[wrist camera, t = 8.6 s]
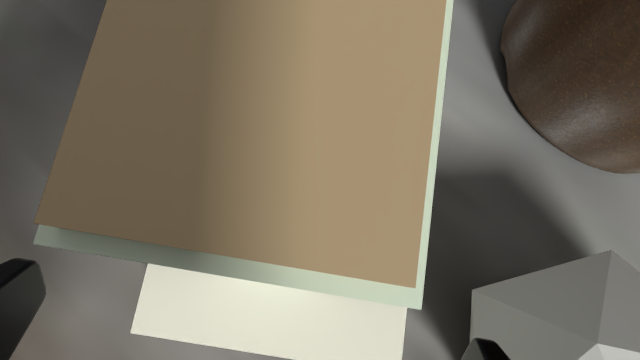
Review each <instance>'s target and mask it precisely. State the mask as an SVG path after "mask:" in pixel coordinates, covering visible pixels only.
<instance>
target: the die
mask: <svg viewBox="0 0 640 360" xmlns="http://www.w3.org/2000/svg"><path fill="white" fill-rule="evenodd" d="M474 338H483V339H489V340H493V341H495V342H496V343H497V344H498V345H499V346H500V347H501V348H502V350H503V351H504V352H505V353H506V354H507V356H508V357H509V358H510V359H511V360H640V272H639V271H637V270H636V269H635V268H634V267H632V266H631V265H630V264H629V263H627V262H626V261H625V260H624V259H622V258H621V257H620V256H619V255H617V254H616V253H615V252H614V251H612V250H610V251H606V252H603V253H599V254H596V255H592V256H588V257H585V258H581V259H578V260H574V261H571V262H567V263H564V264H560V265H557V266H553V267H550V268H546V269H543V270H539V271H536V272H532V273H529V274H525V275H522V276H518V277H515V278H511V279H508V280H504V281H501V282H497V283H494V284H490V285H487V286H483V287H480V288H476V289H473V290H472V303H471V327H470V342H471V341H472V339H474Z"/></svg>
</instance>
